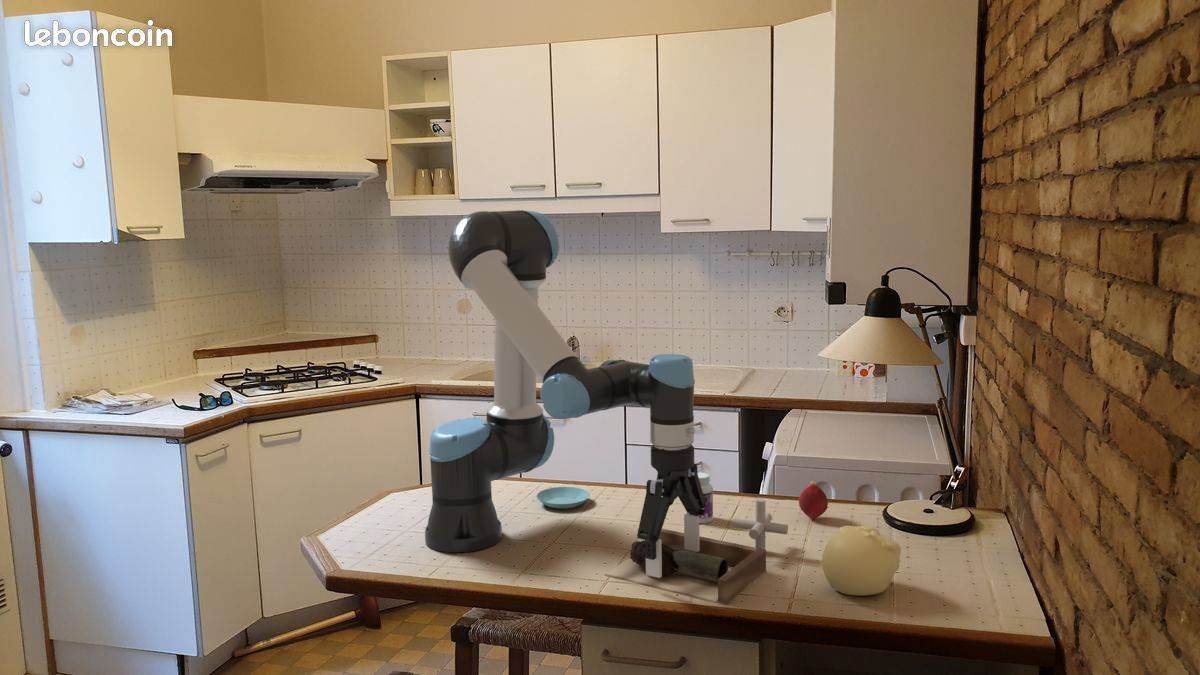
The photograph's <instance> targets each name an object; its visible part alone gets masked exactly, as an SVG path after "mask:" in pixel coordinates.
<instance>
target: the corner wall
mask: <svg viewBox="0 0 1200 675" xmlns="http://www.w3.org/2000/svg"><path fill="white" fill-rule="evenodd" d="M658 539H661V542H662V543H663V544H664V545H666V546H668V547H670V548H671V549H674V550H675V549H678V550H685V551H690V550H686V549H684V532H680V531H675V530H671V529H666V528H662V530H661V532H660V535H659V538H658ZM699 541H700V551H698V552H695V551H690V552H695V553H700V554H704V555H709V556H714V557H719V558H723V559H726V560H727V562H728V565H727V566H729V567H728V568H731V569H728V571H727V573H726V574H724V575H723V576H722V577H720V578H719V579H718V601H717V603H719V604H723V605H728V604H729V603H730V602H732V600H734V599H735V598H736V597H738V595H740V594H741V593H742V592H744V591H745V590H746V589H747V588H748V587H749V586H750V585H752V584H753V583H754V582H755V581H757V580H758V579H759V578H760V577H761V576H763V573H764V574H765V573H766V572H767V550H766V549H765V550H764V549H759V548H756V546H755V547H754V546H749V545H744V544H739V543H735V542H729V541H724V540H720V539H714V538H711V537H710V538H708V537H704V536H700V535H699ZM732 567H733V568H732Z"/></svg>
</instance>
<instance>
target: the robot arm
mask: <svg viewBox="0 0 1200 675" xmlns="http://www.w3.org/2000/svg"><path fill="white" fill-rule="evenodd" d="M554 226H555V225H553V224H552V223H551V220H550V219H549V218H548V217H547V216H546V215H545V214H543V213H541V212H538V211H532V210H524V209H522V210H519V209H518V210H516V209H515V210H499V211H498V210H497V211H495V210H494V211H487V210H482V211H481V210H479V211H474V212H473V213H469V214H467V215H466V216H464V217H463V218H461V219H460V220H459V221H458V222H457V223H456V224H455V225H454V228H453V229H452V231H451V234H450V237H449V239H448V240H449V241H448V245H447V246H448V258H449V263H450V265H451V267H452V270H453V272H454V274H455V276H456V277H457V278H458V280H459V282H460V283H461V284H462V285H463V287H464V288H466V289H467V290H470V291H474V292H475V294H476V295H477V296H478V298H479V299H480V300H481V302H482V303H483V304H484V306H485V307H486V309H487V310H488V311H489V312H490V314H491V315H492V316H493V318H494V379H493V380H494V382H493V383H494V384H493V386H494V391H493V394H494V396H493V397H494V398H493V402H492V403H491V404H490V405H489V406H488V407H487V408H486V419H482V418H480V417H478V418H477V417H467V418H464V419H460V418H459V419H455V420H451V421H448V422H444V423H442V424H441V425H439V426H437V427H435V429H434V430H433V431H432V433H431V435H430V437H429V451H428V455H429V457H430V460H429V461H430V476H431V479H430V480H431V496H432V497H431V498H432V499H431V500H432V505H431V508H430V513H429V516H428V521H427V522H428V523H427V525H426V527H425V530H424V537H425V538H424V540H425V546H427V547H429V548H430V549H432V550H434V551H435V550H436V551H438V552H444V553H445V552H446V553H467V552H474V551H480V550H484V549H487V548H489V547H492V546H495V545H496V544H497V543H499V542H500V541H501V540H502V538H503V528H502V527H503V526H502V522H501V521H500V520H499V519H498V514H497V511H496V507H495V504H494V502H493V497H492V496H493V495H492V494H493V492H492V482H493V481H497V480H501V479H504V478H508V477H512V476H516V475H519V474H524V473H525V474H526V473H529V472H532V471H533V470H534V469H538V468H540V467H542V466H544V464H545V463H547V461H548V460H549V459H550V458H551V455H552V453H553V450H554V446H555V433H554V428H553V427H551V424H552V423H551V422H550V420H549V419H548V417H547V416H545V415H544V411H545V412H546V413H547V414H548V415H549V416H550V417H551V418H554V419H556V420H567V419H568V420H569V419H577V418H581V417H583V416H585V415H588V414H589V415H590V414H593V413H596V412H597V413H598V412H600V411H607V410H610V409H611V410H612V409H615V408H619V407H623V406H628V405H631V406H638V407H643V408H649V418H650V420H649V421H650V423H649V424H650V425H649V426H650V430H649V432H650V437H649V438H650V439H649V442H650V443H651V444H652V445H651V446H650V465H651V467H652V468H653V469H655V470H656V472H657V476H656V480H652V479H648V480H646V484H645V485H646V488H645V490H646V491H645V497H644V502H643V506H642V510H641V514H640V515H641V516H640V520H639V526H638V529H637V532H636V537H637V539H638V540H639V539H640V540H644V541H645V552H646V553H645V556H646V575H649V576H653V577H657V578H661V577H662V542H661V539H658V538H659V535H660V532H661V530H662V529H663V526H664V523H665V520H666V518H667V515H668V511H669V509H670V507H671V506H672V505H674V502H675V500H676V499H677V498H678V499H679V501H680V502H681V505H682V506H683V508H684V509H685V511H686V514H684V516H683V517H684V518H683V520H684V521H683V523H684V524H683V526H684V527H683V529H684V530H683V531H684V532H683V533H684V549H686V550H690V551H695V552H698V551H700V541H699V536H700V523H699V515H702V516H704V515H705V507H706V502H705V498H704V495H703V491H702V488H701V484H700V481H699V477H698V473H699V472H698V464H697V463H695V446H694V445H693V443H694V441H695V433H696V429H695V428H694V427H695V425H694V424H695V421H694V420H695V417H694V416H695V415H694V401H695V400H694V399H695V398H694V397H695V381H696V380H695V376H694V364H693V360H692V358H690V356H688V355H686V354H685V355H684V354H675V353H674V354H673V353H666V354H665V353H664V354H657V355H653V356H652V357H650V359H649V363H642V362H635V361H629V360H625V359H617V360H616V359H609V360H605V361H603V362H602V363H601V364H600V365H599V366H598V367H593V368H587V367H586V366H585V365H584V363H583V362H582V361H581V359H579V357H578V356H577V354H575V352H574V350H572V348H571V347H570V346H569V345H568V343H567V341H566V340H565V339H564V337H563V336H562V335H561V334H560V332H559V331H558V330H557V329H556V328H555V326H554V325H553V324H552V322H551V321H550V320H549V318H548V317H547V315H546V314H545V313H544V312H543V311H542V309H541V308H540V307H539V304H538V303H539V288H540V286H541V285H542V284H543V283H544V282H545V281H546V280H547V268H549V267H551V266H552V265H553V264H554V263H555V260H557V259H558V255H559V251H560V249H559V248H560V243H559V242H560V240H559V238H558V234H557V230H556V228H555V227H554ZM537 377H538V378H539V380H540V381H541V383H542V385H541V388H540V392H539V393H540V395H539V396H540V401H542V407H543V408H542V407H541V406H540V405H539V404H538V403H537ZM696 499H697V500H699V501H697V500H696ZM702 508H703V509H702ZM687 513H689V514H687Z"/></svg>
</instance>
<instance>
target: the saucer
mask: <svg viewBox="0 0 1200 675" xmlns="http://www.w3.org/2000/svg"><path fill="white" fill-rule="evenodd" d="M590 496H591V494H590V492H589V491H587V490H586V489H583V488H581V487H580V488H579V487H573V486H559V487H557V486H556V487H550V488H546V489H543V490H541V491H539V492H538V493H537V494H536V496H535V497H536V499H537V500H538V501H540V502H541V503H542V504H543V505H545V506H546V507H549V508H551V509H554V508H556V510H569V509H568V508H570V509H573V508H576V507H578V506H580V505H582V504H584V503H585V502H586V501H587V500H588V499H589V498H590Z"/></svg>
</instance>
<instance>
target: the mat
mask: <svg viewBox="0 0 1200 675" xmlns="http://www.w3.org/2000/svg"><path fill="white" fill-rule="evenodd" d="M603 575H604V576H606V577H610V578H614V579H619V580H622V581H626V582H631V583H634V584H639V585H642V586H647V587H651V588H654V589H659V590H662V591H666V592H672V593H675V594H679V595H683V596H687V597H691V598H695V599H700V600H703V601H707V602H712V603H716V604H717V603H718V582H713V581H709V580H705V579H702V578H698V577H694V576H690V575H687V574H683V573H679V572H674V573H672V574H669V575H667V576H664V577H661V578H657V577H653V576H649V575H646V573H645V571H644V569H643V568H642V567H641V566H639V565H638V564H636V562H633V561H632V559H630V557H629V558H628V559H626V560H624V561H622V562H621V563H619V564H618V565H616V566H614V567H613V568H611V569H610V570H608V571H607V572H605V573H604V574H603Z"/></svg>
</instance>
